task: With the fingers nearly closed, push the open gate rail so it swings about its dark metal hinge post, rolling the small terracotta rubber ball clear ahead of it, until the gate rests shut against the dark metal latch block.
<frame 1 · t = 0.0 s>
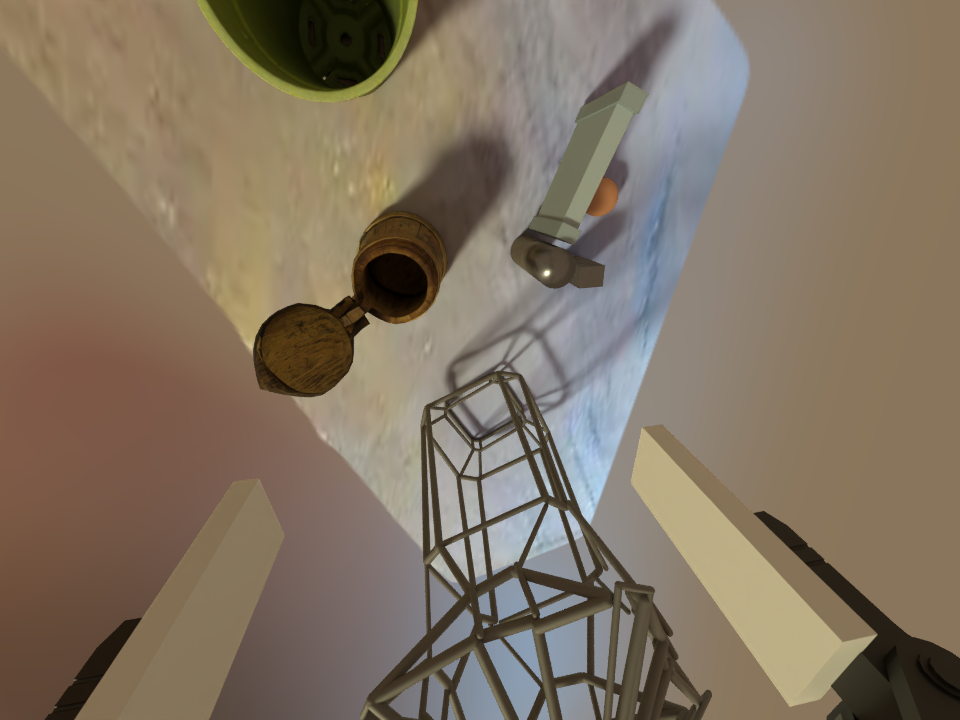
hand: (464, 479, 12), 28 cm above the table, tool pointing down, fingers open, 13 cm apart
geometric lantern: (478, 403, 44), on the table
plant pot: (347, 46, 28), on the table
latch block: (568, 265, 38), on the table
hinge post: (525, 250, 37), on the table
ball: (591, 197, 35), on the table
gate: (577, 173, 29), point 5 cm above the table, hinge at 65.0°
wooden mug: (385, 270, 36), on the table
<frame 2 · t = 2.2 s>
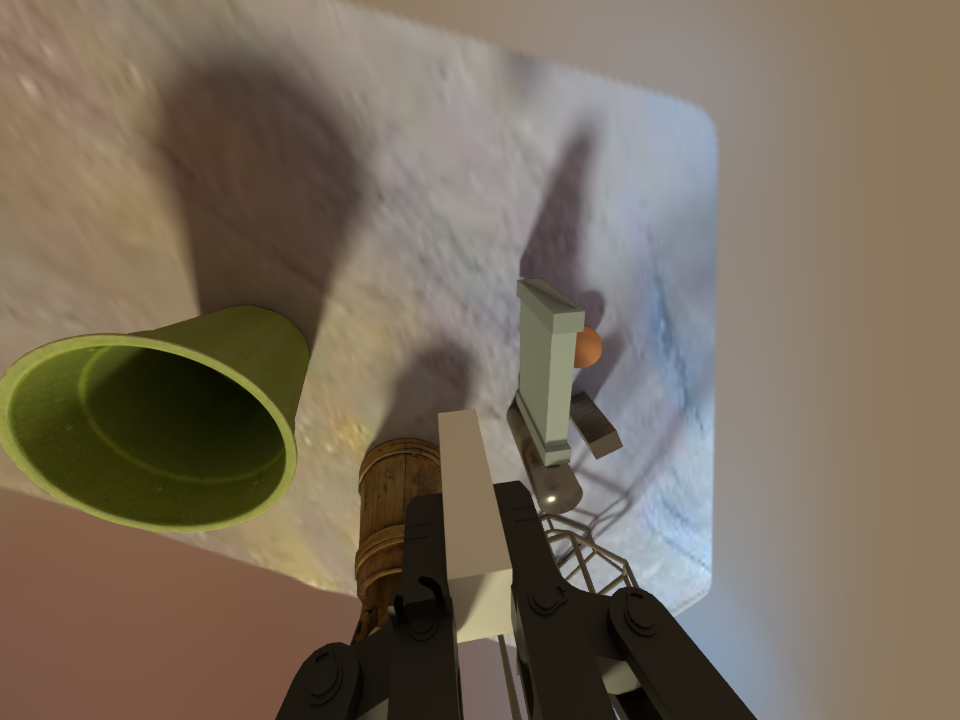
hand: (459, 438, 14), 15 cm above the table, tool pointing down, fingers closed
geometric lantern: (540, 541, 42), on the table
plant pot: (261, 349, 26), on the table
latch block: (576, 404, 33), on the table
hinge post: (522, 414, 32), on the table
ball: (571, 338, 30), on the table
gate: (542, 367, 24), point 5 cm above the table, hinge at 65.0°
wooden mug: (394, 487, 34), on the table
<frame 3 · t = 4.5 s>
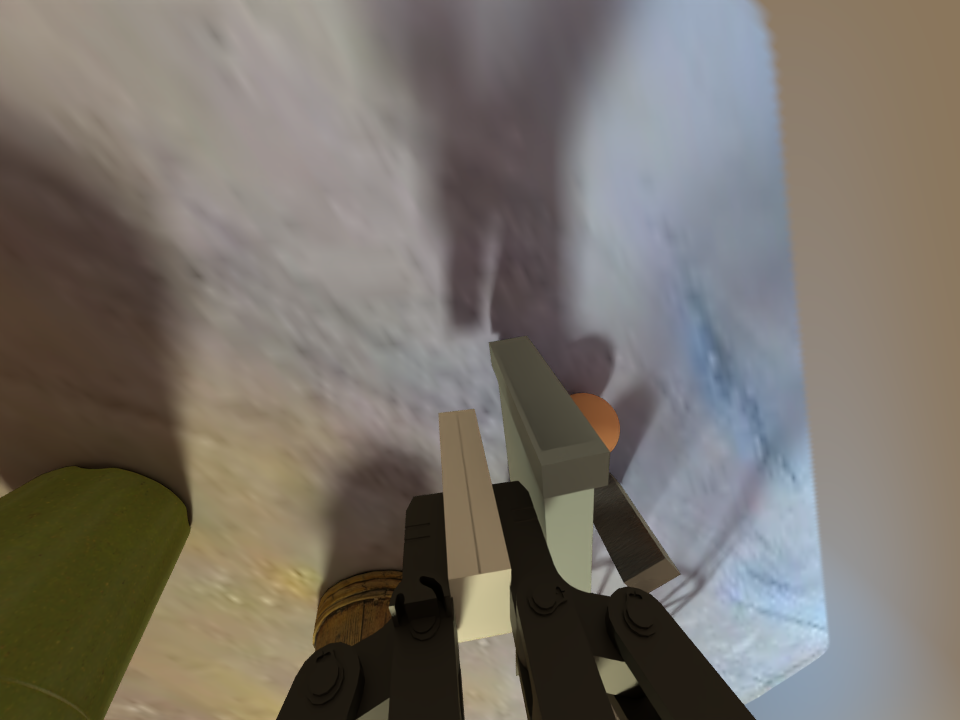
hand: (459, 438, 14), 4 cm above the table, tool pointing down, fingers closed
plant pot: (120, 511, 18), on the table
latch block: (598, 487, 22), on the table
ball: (570, 407, 19), on the table
gate: (539, 490, 15), point 5 cm above the table, hinge at 58.4°, touching gripper
wooden mug: (373, 623, 26), on the table
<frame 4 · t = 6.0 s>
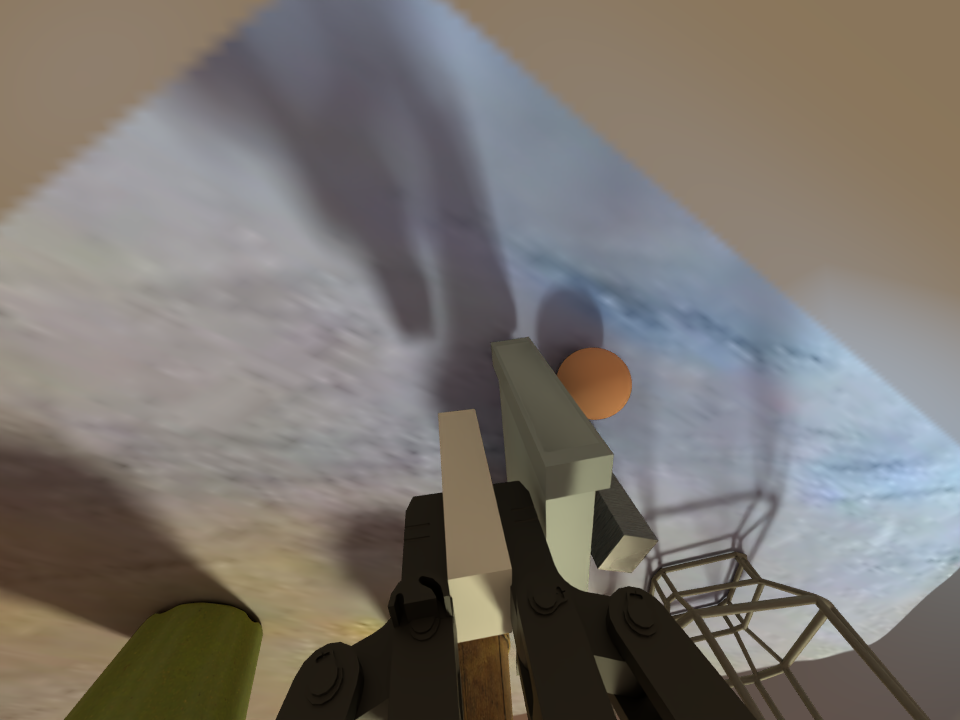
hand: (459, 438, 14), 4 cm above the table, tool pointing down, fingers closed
geometric lantern: (678, 589, 30), on the table
plant pot: (210, 627, 23), on the table
latch block: (577, 464, 21), on the table
ball: (608, 403, 15), point 3 cm above the table, tilted 177°
gate: (537, 491, 15), point 5 cm above the table, hinge at 27.3°, touching gripper
wooden mug: (455, 638, 28), on the table
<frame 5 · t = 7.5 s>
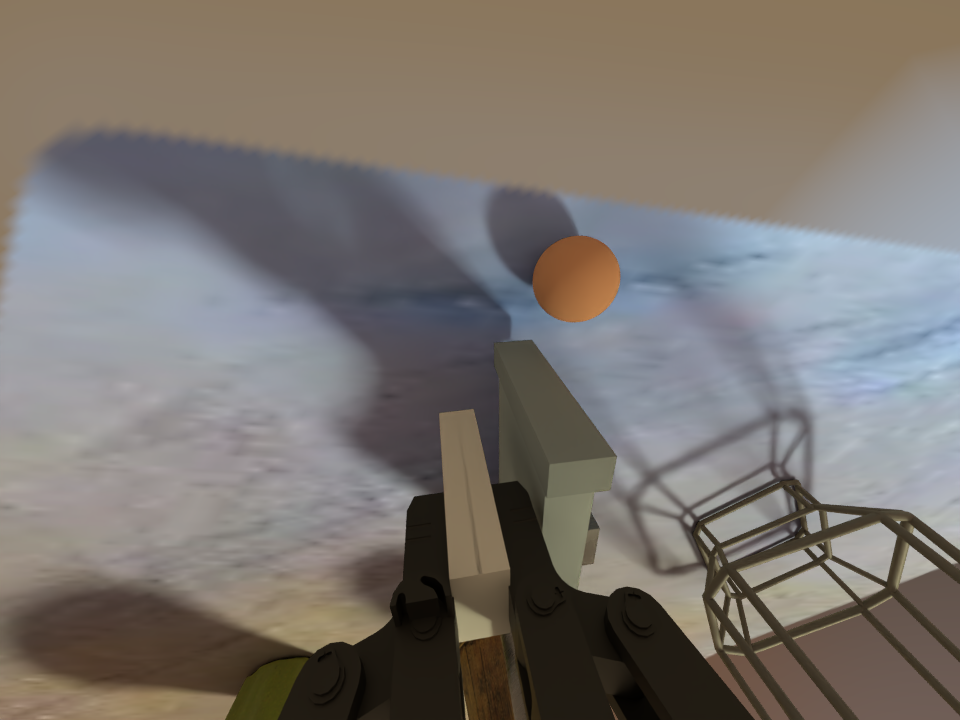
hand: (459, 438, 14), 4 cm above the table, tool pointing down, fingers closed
geometric lantern: (736, 535, 27), on the table
plant pot: (298, 675, 27), on the table
latch block: (536, 457, 20), on the table
hinge post: (505, 519, 22), on the table
ball: (550, 285, 16), on the table, tilted 25°
gate: (531, 494, 15), point 5 cm above the table, hinge at -0.7°, touching gripper
wooden mug: (516, 635, 29), on the table
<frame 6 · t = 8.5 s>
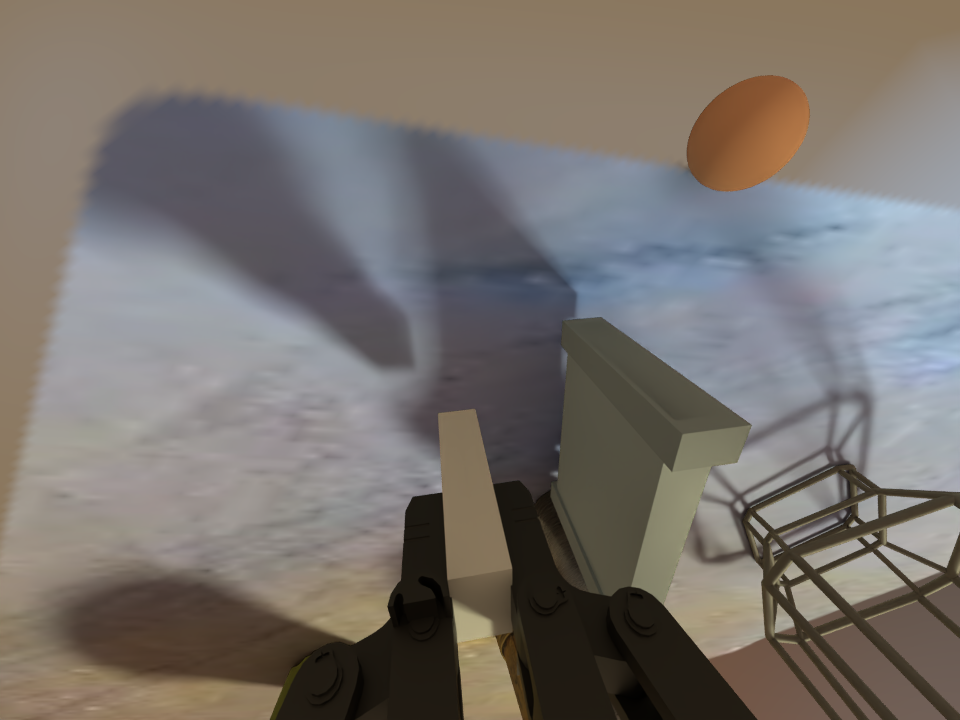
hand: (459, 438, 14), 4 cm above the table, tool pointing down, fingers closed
geometric lantern: (784, 521, 27), on the table
plant pot: (341, 666, 27), on the table
hinge post: (557, 506, 22), on the table
ball: (784, 122, 11), point 3 cm above the table, tilted 170°
gate: (608, 475, 14), point 5 cm above the table, hinge at -0.2°
wooden mug: (558, 625, 29), on the table
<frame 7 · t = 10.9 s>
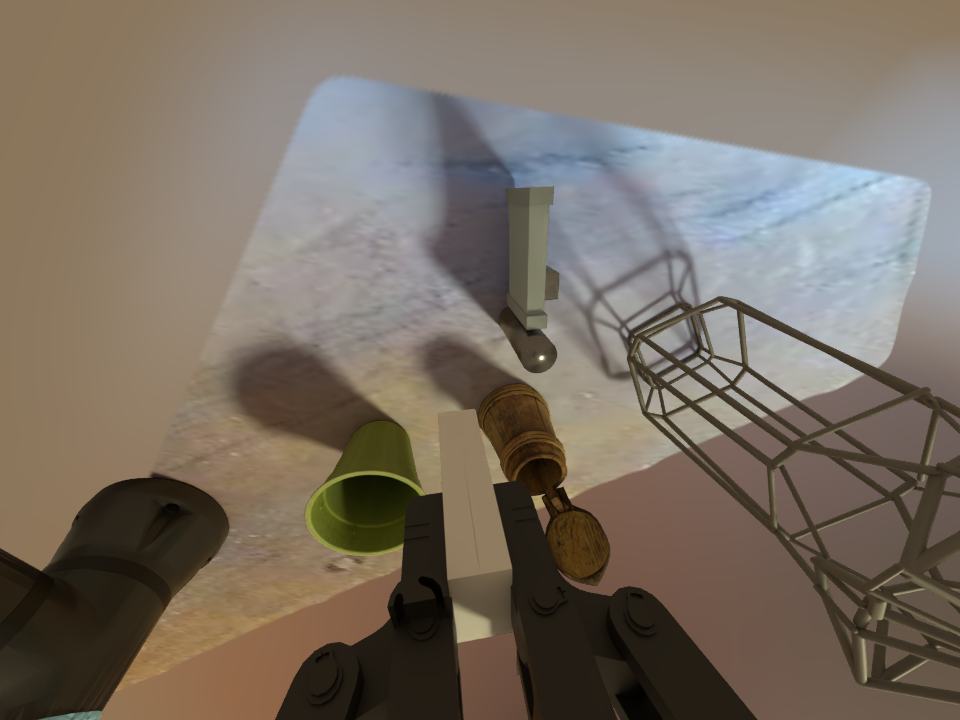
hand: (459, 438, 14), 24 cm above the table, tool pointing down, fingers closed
geometric lantern: (657, 349, 43), on the table
plant pot: (382, 441, 43), on the table
latch block: (530, 273, 36), on the table
hinge post: (512, 319, 38), on the table
gate: (525, 256, 31), point 5 cm above the table, hinge at -0.2°
wooden mug: (519, 424, 45), on the table
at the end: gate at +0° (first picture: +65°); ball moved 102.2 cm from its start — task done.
